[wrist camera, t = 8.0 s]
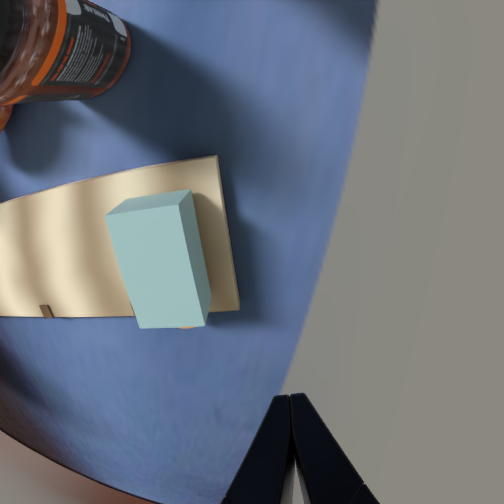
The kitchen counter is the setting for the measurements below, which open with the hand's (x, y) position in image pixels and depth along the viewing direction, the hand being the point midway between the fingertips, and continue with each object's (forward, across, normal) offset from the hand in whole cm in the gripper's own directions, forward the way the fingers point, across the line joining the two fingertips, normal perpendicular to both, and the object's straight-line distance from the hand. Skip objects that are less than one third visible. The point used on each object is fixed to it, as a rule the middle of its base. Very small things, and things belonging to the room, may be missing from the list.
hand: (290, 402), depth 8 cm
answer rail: (+13, +18, -1) cm, 22 cm away
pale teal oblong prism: (+12, +6, +1) cm, 13 cm away
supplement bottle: (+13, +9, -13) cm, 21 cm away
